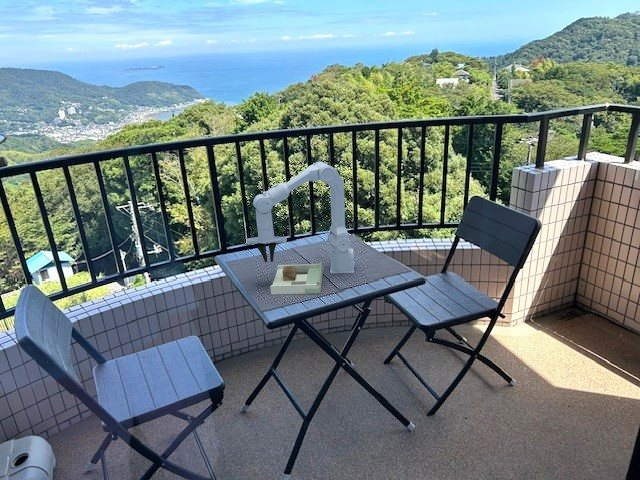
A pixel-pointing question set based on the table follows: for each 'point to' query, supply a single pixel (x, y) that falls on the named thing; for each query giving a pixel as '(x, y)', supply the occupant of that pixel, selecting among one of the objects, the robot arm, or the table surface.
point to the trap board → (299, 280)
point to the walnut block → (289, 273)
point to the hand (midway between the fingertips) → (269, 261)
